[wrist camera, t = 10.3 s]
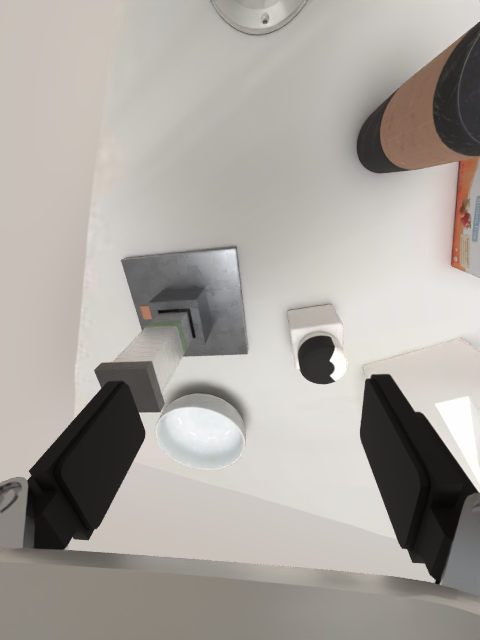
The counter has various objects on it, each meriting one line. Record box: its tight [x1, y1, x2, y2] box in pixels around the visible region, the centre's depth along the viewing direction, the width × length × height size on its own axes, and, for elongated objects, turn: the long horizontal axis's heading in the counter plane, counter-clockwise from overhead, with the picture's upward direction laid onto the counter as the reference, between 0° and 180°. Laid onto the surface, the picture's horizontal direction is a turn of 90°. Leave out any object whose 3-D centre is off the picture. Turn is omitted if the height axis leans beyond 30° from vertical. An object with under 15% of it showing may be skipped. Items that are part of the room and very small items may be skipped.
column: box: [94, 312, 193, 412], centre depth 32 cm, size 5×5×14 cm
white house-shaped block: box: [362, 338, 480, 493], centre depth 36 cm, size 19×15×25 cm
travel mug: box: [357, 22, 480, 173], centre depth 23 cm, size 8×8×20 cm
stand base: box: [121, 247, 248, 356], centre depth 41 cm, size 18×18×7 cm
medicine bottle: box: [287, 304, 348, 384], centre depth 38 cm, size 7×7×12 cm
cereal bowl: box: [155, 394, 246, 470], centre depth 52 cm, size 17×17×7 cm
